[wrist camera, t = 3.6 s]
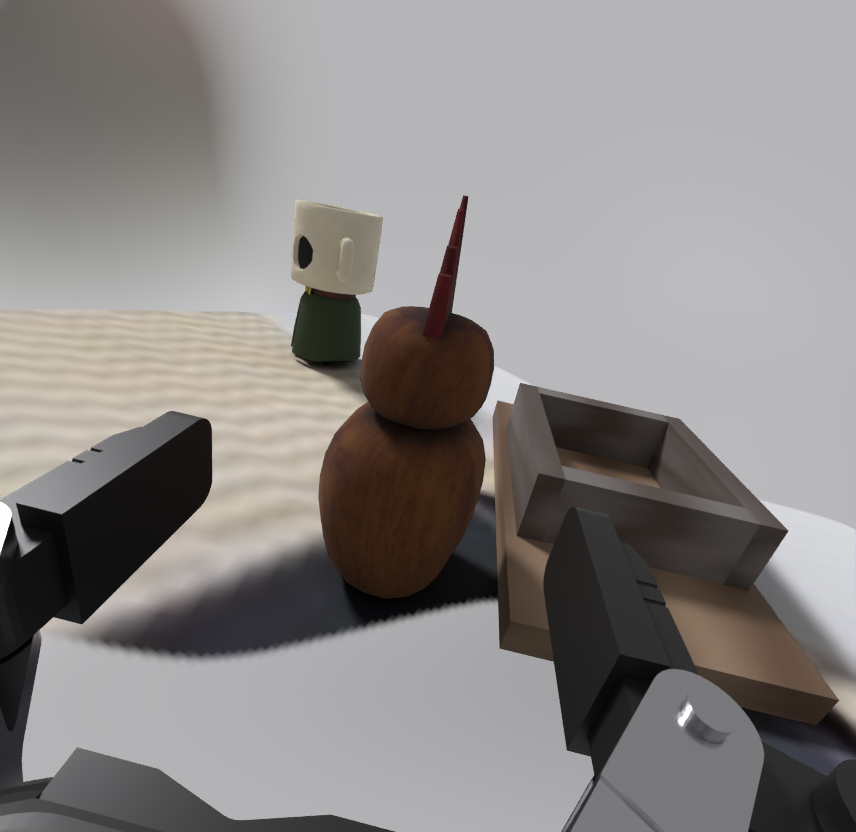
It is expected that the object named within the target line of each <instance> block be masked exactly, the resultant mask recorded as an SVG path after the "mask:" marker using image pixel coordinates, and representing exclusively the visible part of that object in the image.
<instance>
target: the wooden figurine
mask: <svg viewBox="0 0 856 832" xmlns="http://www.w3.org/2000/svg"><path fill="white" fill-rule="evenodd" d="M467 203H468V196H463V199H462V202H461V206H460V209H458V212H457V215H456V219H455V223H454V226H453V230H452V234H451V238H450V241H449V245H448V246H447V249H446V252H445V256H444V260H443V263H442V267H441V271H440V273H439V275H438V278H437V282H436V286H435V289H434V293H433V297H432V300H431V304H430V308H425V307H413V306H410V307H400V308H396V309H393V310H390V311H387V312H385V313H384V314H383V315H382V316H381V318H380V319H379V320H378V321H377V322H376V323H375V325H374V326H373V328H372V330H371V332H370V334H369V337H368V339H367V341H366V344H365V347H364V352H363V357H362V362H361V375H360V380H361V385H362V389H363V392H364V394H365V396H366V398H367V400H368V401H369V402H367V403H366V404H364V405H363V406H361V407H360V408H358V409H357V410H356V411H355V412H354V413H353V414H352V415H351V416H350V417H349V418H348V419H347V420H346V422H345V423H344V424H343V425H342V426H341V427H340V428H339V429H338V431H337V432H336V433H335V435H334V437H333V439H332V441H331V443H330V445H329V447H328V449H327V451H326V453H325V457H324V461H323V465H322V469H321V473H320V483H319V495H318V497H319V506H320V515H321V523H322V530H323V537H324V541H325V545H326V548H327V552H328V555H329V557H330V559H331V560H332V562H333V564H334V566H335V567H336V569H337V570H338V571H339V573H340V574H341V576H342V577H343V578H344V580H345V581H346V582H347V583H348V584H350V585H351V586H353V587H355V588H357V589H359V590H360V591H362V592H364V593H367V594H370V595H374V596H377V597H381V598H384V599H389V598H400V597H408V596H410V595H412V594H414V593H416V592H418V591H420V590H422V589H424V588H425V587H426V586H428V585H429V584H430V583H431V582H432V581H433V580H434V579H435V578H436V577H437V576H438V575H439V573H440V572H441V570H442V569H443V567H444V566H445V564H446V563H447V561H448V559H449V558H450V556H451V555H452V553H453V551H454V550H455V548H456V547H457V545H458V543H459V542H460V540H461V539H462V537H463V535H464V533H465V531H466V529H467V527H468V524H469V522H470V520H471V518H472V515H473V512H474V509H475V506H476V503H477V500H478V496H479V493H480V490H481V486H482V483H483V477H484V468H485V460H486V458H485V451H484V444H483V439H482V437H481V436H480V434H479V432H478V430H477V429H476V427H475V425H474V424H473V422H472V421H471V419H470V418H472V417H473V416H474V415H475V414H476V413H477V412H478V410H479V409H480V408H481V407H482V405H483V403H484V402H485V400H486V397H487V394H488V391H489V388H490V385H491V380H492V375H493V371H494V350H493V347H492V343H491V341H490V339H489V336H488V334H487V331H486V330H484V329H483V328H482V327H480V326H479V325H478V324H476V323H475V322H473V321H472V320H470V319H467V318H465V317H463V316H460V315H456V314H453V313H452V307H453V300H454V293H455V286H456V279H457V272H458V265H459V258H460V251H461V245H462V238H463V231H464V223H465V217H466V210H467Z"/></svg>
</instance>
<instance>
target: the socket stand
mask: <svg viewBox="0 0 856 832" xmlns="http://www.w3.org/2000/svg"><path fill="white" fill-rule="evenodd" d="M493 441H494V474H495V507H496V541H497V574H498V607H499V640H500V648H501V649H504V650H509V651H513V652H517V653H521V654H525V655H529V656H533V657H537V658H542V659H546V660H549V661H554V659H553V652H552V645H551V638H550V631H549V625H548V618H547V611H546V604H545V597H544V590H543V580H544V572H545V567H546V563H547V560H548V558H549V555H550V553H551V550H552V548H553V545H554V543H555V540H556V538H557V535H558V533H559V530H560V528H561V525H562V523H563V520H564V518H565V515H566V513H567V511H568V510H569V509H570V508H571V507H577V508H582V509H586V510H590V511H594V512H599V513H603V514H607V515H609V517H610V518H611V520H612V523H613V525H614V528H615V530H616V533H617V535H618V537H619V540H620V542H622V543H627V544H630V545H631V546H632V547H633V548H634V549H635V550H636V552H637V553H638V554H639V555H640V556H641V557H642V558H643V559H644V560H645V561H646V563H647V564H648V565H649V567H650V569H651V572H652V574H653V576H654V578H655V580H656V582H657V585H658V586H657V589H659V590H660V591H661V593H662V595H663V598H664V600H665V602H666V607H667V608H669V611H670V613H671V615H672V617H673V619H674V621H675V624H676V626H677V628H678V630H679V632H680V634H681V637H682V639H683V641H684V643H685V645H686V647H687V650H688V652H689V654H690V656H691V658H692V660H693V663H694V665H695V667H696V669H697V671H698V673H699V676H701V677H703V678H705V679H707V680H708V681H710V682H711V683H713V684H715V685H716V686H718V687H719V688H720V689H721V690H723V691H724V692H725V693H726V694H728V695H729V696H730V697H731V698H732V699H733V700H734V701H735V702H736V703H737V704H738V705H739V706H740V707H742V708H746V709H750V710H754V711H758V712H762V713H766V714H770V715H775V716H779V717H783V718H787V719H791V720H795V721H799V722H803V723H807V724H811V725H815V726H816V725H817V724H818V723H819V722H820V721H821V720H822V719H823V717H824V716H825V715H826V714H827V713H828V712H829V711H830V710H831V709H832V708H833V706H834V705H835V704H836V703H837V702H838V701H839V699H838V698H837V697H836V695H835V694H834V693H833V691H832V690H831V689H830V687H829V686H828V684H827V683H826V682H825V680H824V679H823V678H822V676H821V675H820V674H819V672H818V671H817V669H816V668H815V667H814V665H813V664H812V663H811V661H810V660H809V659H808V657H807V656H806V654H805V653H804V652H803V650H802V649H801V648H800V646H799V645H798V644H797V642H796V641H795V640H794V638H793V637H792V635H791V634H790V633H789V631H788V630H787V629H786V627H785V626H784V625H783V623H782V622H781V620H780V619H779V618H778V616H777V615H776V614H775V612H774V611H773V610H772V608H771V607H770V605H769V604H768V603H767V601H766V600H765V599H764V597H763V596H762V595H761V593H760V592H759V590H758V589H757V588H756V586H755V585H754V584H753V583H754V582H755V580H756V579H757V577H758V576H759V574H760V573H761V571H762V570H763V568H764V567H765V565H766V564H767V562H768V561H769V559H770V558H771V556H772V555H773V553H774V552H775V550H776V549H777V547H778V546H779V544H780V543H781V541H782V540H783V538H784V537H785V535H786V534H787V532H788V530H787V529H786V528H785V527H784V526H783V525H782V524H781V523H780V522H779V521H778V520H777V519H776V518H775V517H774V515H773V514H772V513H771V512H770V511H769V510H768V509H767V508H766V507H765V506H764V505H763V504H762V503H761V502H760V501H759V500H758V499H757V498H756V497H755V496H754V495H753V494H752V493H751V492H750V491H749V490H748V489H747V488H746V487H745V486H744V485H743V484H742V483H741V482H740V481H739V479H737V477H736V476H735V475H734V474H733V473H731V471H730V470H729V469H728V468H727V467H726V466H725V465H724V464H723V463H722V462H721V461H720V460H719V459H718V458H717V457H716V456H715V455H714V454H713V453H712V452H711V451H710V450H709V449H708V448H707V447H706V445H705V444H704V443H703V442H702V441H701V440H700V439H698V437H697V436H696V435H695V434H694V433H693V432H692V431H691V430H690V429H689V428H688V427H687V426H686V425H685V424H684V423H683V422H682V421H681V420H680V419H678V418H673V417H669V416H664V415H660V414H655V413H651V412H646V411H642V410H638V409H633V408H628V407H624V406H620V405H615V404H611V403H607V402H602V401H597V400H593V399H589V398H584V397H580V396H575V395H571V394H566V393H562V392H557V391H553V390H549V389H544V388H540V387H536V386H531V385H527V384H522V383H520V385H519V389H518V392H517V395H516V399H515V402H514V404H510V403H505V402H501V401H497V404H496V407H495V411H494V415H493Z"/></svg>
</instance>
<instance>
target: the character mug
mask: <svg viewBox="0 0 856 832" xmlns="http://www.w3.org/2000/svg"><path fill="white" fill-rule="evenodd" d="M382 220H383V218H382V217H381V216H378V215H375V214H371V213H366V212H362V211H357V210H353V209H349V208H344V207H339V206H334V205H328V204H322V203H317V202H311V201H305V200H296V203H295V218H294V235H293V243H292V265H291V275H292V279H293V280H295V281H297V282H298V283H300V284H303V285H305V286H306V288H305V292H304V294H303V295H302V297H301V299H300V304H299V308H298V312H297V317H296V321H295V326H294V332H293V338H292V344H291V347H292V346H293V348H292V352H293V353H294V354H296V355H298V356H299V357H301V358H304V359H308V360H311V361H325V363H327V364H329V363H330V362H331V361H349V360H357V359H358V358H359V357H360V345H361V310H360V309H361V308H360V305H359V302H358V300H357V298H356V297H355V296H356V295H357V294H365V293H369V292H372V289H373V286H374V279H375V273H376V265H377V258H378V251H379V243H380V237H381V229H382Z"/></svg>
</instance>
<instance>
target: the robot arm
mask: <svg viewBox="0 0 856 832" xmlns="http://www.w3.org/2000/svg"><path fill="white" fill-rule="evenodd" d="M211 484H212V428H211V424H210V422H209V421H208V420H207V419H205V418H200V417H196V416H192V415H188V414H183V413H179V412H175V411H170V412H167V413H165V414H164V415H162V416H160V417H159V418H157V419H155V420H154V421H152V422H150V423H149V424H147V425H145V426H144V427H138V428H135V429H132V430H128V431H125V432H122V433H118V434H115V435H112V436H111V437H109V438H107V439H105V440H104V441H102V442H100V443H98V444H97V445H95V446H93V447H91V450H90V451H88V450H86V451H84V452H83V453H81V454H79V455H77V456H76V457H74V458H73V460H72V461H71V462H70V461H67V462H65V463H64V464H62V465H60V466H58V467H57V468H55V469H53V470H51V471H50V472H48V473H46V474H44V475H43V476H41V477H39V478H37V479H36V480H34V481H32V482H30V483H29V484H27V485H25V486H23V487H22V488H20V489H18V490H16V491H15V492H13V493H11V494H9V495H8V496H6V497H4V498H2V499H1V500H0V832H394V831H390V830H387V829H383V828H379V827H375V826H371V825H368V824H364V823H360V822H356V821H353V820H349V819H345V818H341V817H338V816H334V815H319V816H305V817H288V818H273V819H258V820H233V819H229V818H227V817H226V816H224V815H222V814H221V813H220V812H218V811H217V810H215V809H214V808H213V807H211V806H210V805H208V804H207V803H205V802H204V801H202V800H201V799H200V798H198V797H197V796H196V795H194V794H193V793H191V792H190V791H189V790H187V789H186V788H184V787H183V786H182V785H180V784H179V783H177V782H176V781H174V780H173V779H172V778H170V777H169V776H168V775H166V774H165V773H163V772H162V771H161V770H159V769H156V768H152V767H149V766H145V765H141V764H137V763H133V762H130V761H126V760H122V759H118V758H115V757H111V756H107V755H103V754H99V753H96V752H92V751H88V750H85V749H81V748H76V750H75V751H74V752H73V754H72V755H71V756H70V757H69V759H68V760H67V761H66V762H65V764H64V765H63V766H62V767H61V769H60V770H59V771H58V773H57V774H56V775H55V777H51V778H44V779H39V780H33V781H27V782H23V773H22V749H23V741H24V734H25V730H26V724H27V719H28V713H29V708H30V702H31V696H32V691H33V686H34V680H35V675H36V669H37V664H38V658H39V653H40V647H41V634H40V629H41V628H42V627H43V626H44V625H45V624H46V623H47V622H48V621H50V620H51V619H52V618H53V617H55V618H59V619H63V620H67V621H71V622H75V623H79V624H83V623H84V622H85V621H86V620H87V619H88V618H89V617H90V616H91V615H92V614H93V613H94V612H95V611H96V610H97V609H98V608H99V607H100V606H101V605H102V604H103V603H104V602H105V601H106V600H107V599H108V598H109V597H110V596H111V595H112V594H113V593H114V592H115V591H116V590H117V589H118V588H119V587H120V586H121V585H122V584H123V583H124V582H125V581H126V580H127V579H128V578H129V577H130V576H131V575H132V574H133V573H134V572H135V571H136V570H137V569H138V568H139V567H140V566H141V565H142V564H143V563H144V562H145V561H146V560H147V559H148V558H149V557H150V556H151V555H152V554H153V553H154V552H155V551H156V550H158V549H159V548H160V547H161V546H162V545H163V544H164V543H165V542H166V541H167V540H168V539H169V538H170V537H171V536H172V535H173V534H174V533H175V532H176V531H177V530H178V529H179V528H180V527H181V526H182V525H183V524H184V523H185V522H186V521H187V520H188V519H189V518H190V517H191V516H192V515H193V514H194V513H195V512H196V511H197V510H198V509H199V508H200V507H201V506H202V504H203V503H204V502H205V500H206V498H207V496H208V494H209V491H210V488H211ZM657 586H658V585H657V582H656V580H655V578H654V576H653V574H652V572H651V569H650V567H649V565H648V564H647V563H646V561H645V560H644V559H643V558H642V557H641V556H640V555H639V554H638V553H637V552H636V550H635V549H634V548H633V547H632V546H631V545H630V544H627V543H622V542H620V540H619V537H618V535H617V533H616V530H615V528H614V525H613V523H612V520H611V518H610V517H609V515H607V514H603V513H599V512H594V511H590V510H586V509H582V508H577V507H571V508H570V509H569V510H568V511H567V513H566V515H565V518H564V520H563V523H562V525H561V528H560V530H559V533H558V535H557V538H556V540H555V543H554V545H553V548H552V550H551V553H550V555H549V558H548V560H547V563H546V567H545V572H544V580H543V590H544V597H545V604H546V611H547V618H548V625H549V631H550V638H551V645H552V652H553V659H554V665H555V672H556V679H557V686H558V692H559V699H560V706H561V713H562V720H563V726H564V734H565V740H566V747H567V750H568V751H571V752H575V753H579V754H584V755H587V756H591V759H592V764H593V770H594V777H593V778H592V780H591V781H590V783H589V785H588V786H587V788H586V790H585V792H584V793H583V795H582V797H581V799H580V800H579V802H578V804H577V806H576V808H575V809H574V811H573V812H572V814H571V816H570V818H569V819H568V821H567V823H566V825H565V826H564V828H563V830H562V832H856V760H846V761H843V762H842V763H840V764H839V765H838V766H837V767H836V768H835V769H834V770H833V771H832V772H831V773H830V774H829V775H828V776H825V775H823V774H821V773H819V772H818V771H816V770H814V769H812V768H810V767H808V766H806V765H804V764H802V763H801V762H799V761H797V760H795V759H793V758H791V757H789V756H787V755H785V754H784V753H782V752H780V751H778V750H776V749H774V748H772V747H770V746H769V745H767V744H765V743H763V742H762V741H761V739H760V736H759V734H758V732H757V730H756V728H755V726H754V725H753V723H752V722H751V720H750V719H749V717H748V716H747V715H746V713H745V712H744V711H743V710H742V708H741V707H740V706H739V705H738V704H737V703H736V702H735V701H734V700H733V699H732V698H731V697H730V696H729V695H728V694H726V693H725V692H724V691H723V690H721V689H720V688H719V687H718V686H716V685H715V684H713V683H711V682H710V681H708V680H707V679H705V678H703V677H701V676H699V673H698V671H697V669H696V667H695V665H694V663H693V660H692V658H691V656H690V654H689V652H688V650H687V647H686V645H685V643H684V641H683V639H682V637H681V634H680V632H679V630H678V628H677V626H676V624H675V621H674V619H673V617H672V615H671V613H670V611H669V608H667V607H666V602H665V600H664V598H663V595H662V593H661V591H660V590H659V589H657Z"/></svg>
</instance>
